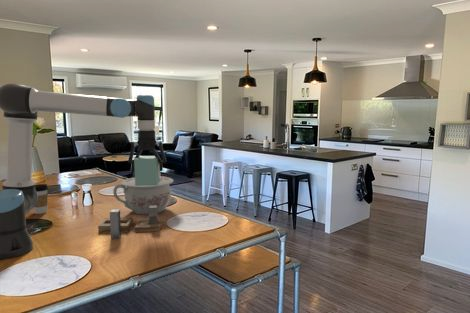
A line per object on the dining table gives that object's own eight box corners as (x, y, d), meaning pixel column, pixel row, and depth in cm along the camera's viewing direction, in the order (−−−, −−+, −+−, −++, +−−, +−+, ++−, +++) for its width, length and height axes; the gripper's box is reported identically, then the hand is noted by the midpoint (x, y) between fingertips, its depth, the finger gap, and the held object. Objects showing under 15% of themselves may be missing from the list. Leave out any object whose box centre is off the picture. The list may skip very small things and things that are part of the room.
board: (159, 231, 153) (158, 209, 152) (134, 231, 152) (133, 210, 151) (162, 223, 164) (162, 203, 162) (139, 223, 163) (139, 203, 162)
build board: (128, 231, 152) (127, 225, 152) (98, 232, 151) (98, 226, 151) (133, 223, 163) (133, 217, 162) (106, 224, 162) (105, 218, 161)
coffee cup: (41, 215, 175) (39, 187, 173) (27, 214, 177) (25, 186, 175) (53, 210, 183) (51, 183, 181) (40, 209, 185) (38, 182, 183)
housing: (157, 185, 150) (156, 158, 149) (135, 185, 150) (134, 159, 148) (160, 180, 160) (159, 155, 159) (139, 180, 160) (138, 156, 158)
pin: (119, 238, 144) (117, 211, 142) (111, 239, 143) (109, 211, 142) (121, 235, 147) (120, 209, 145) (113, 236, 147) (111, 209, 145)
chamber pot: (182, 206, 193) (181, 170, 190) (159, 221, 166) (158, 180, 164) (139, 202, 200) (138, 168, 197) (110, 216, 174) (108, 177, 171)
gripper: (172, 129, 156) (173, 176, 159) (123, 129, 154) (125, 176, 158) (170, 130, 149) (171, 179, 152) (119, 130, 147) (121, 180, 150)
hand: (147, 178), depth 155 cm, fingers closed on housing, 10 cm apart
